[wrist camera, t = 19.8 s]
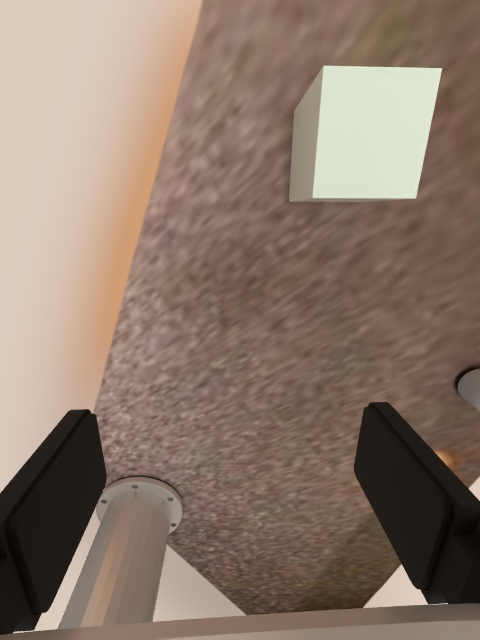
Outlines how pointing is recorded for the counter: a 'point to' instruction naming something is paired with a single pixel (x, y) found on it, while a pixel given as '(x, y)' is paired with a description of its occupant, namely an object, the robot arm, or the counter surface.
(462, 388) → the reed diffuser
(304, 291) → the counter surface
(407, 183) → the pale sage cube
